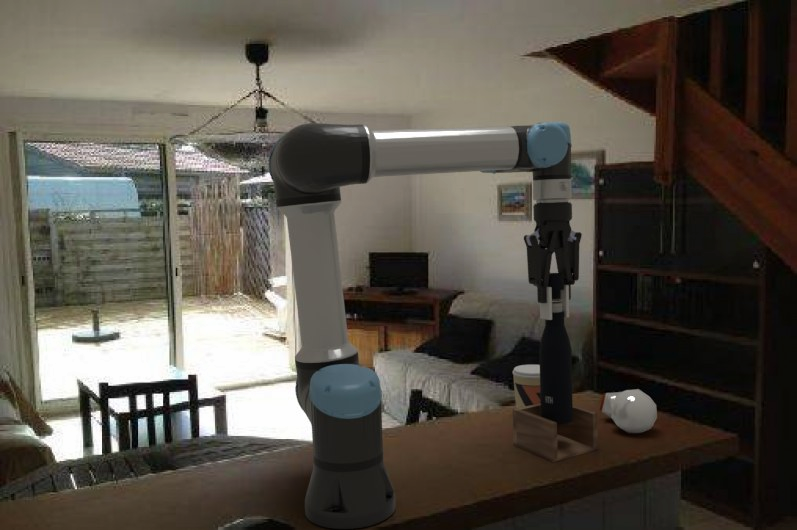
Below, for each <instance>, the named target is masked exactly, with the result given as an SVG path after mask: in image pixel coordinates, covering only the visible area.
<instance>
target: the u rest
mask: <svg viewBox="0 0 797 530" xmlns="http://www.w3.org/2000/svg"><path fill="white" fill-rule="evenodd" d="M598 425H599V424H598V412H595V411H593V410H589V409H587V408H583V407H580V406H577V405H573V421H572V422H570V423H567V424H557V423H556V422H554V421H551V420H548V419H545V418H543V417H541V403H539V404H534V405H530V406H525V407H521V408H516V407H515V408H513V409H512V439H513V440H512V443H513V446H515V447H518V448H520V449H522V450H524V451H527V452H529V453H532V454H534V455H535V456H538V457H541V458H542V459H545V460H546V461H549V462H552V463H554V462H559V461H562V460H565V459H570V458H574V457H576V456H579V455H584V454H586V453H591V452H593V451H594V452H595V451H597V450H598V451H599V442H598V441H599V440H598V439H599V438H598V435H599V433H598V432H599V431H598V429H599V427H598Z"/></svg>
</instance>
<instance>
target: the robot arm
mask: <svg viewBox="0 0 797 530" xmlns="http://www.w3.org/2000/svg"><path fill="white" fill-rule="evenodd" d="M571 137H572V136H571V127H570V125H569V124H568V123H567V122H563V121H552V122H549V121H548V122H538V123H535V124H529V125H514V126H513V125H511V126H510V125H503V126H502V125H500V126H499V125H498V126H474V127H473V126H472V127H471V126H469V127H441V128H409V129H383V130H379V129H375V130H371V129H370V128H369V127H367V126H366V125H365V124H339V123H323V122H321V123H319V122H315V123H314V122H308V123H304V124H300V125H297V126H295V127H293V128H292V129H290V130H289V131H287V132H286V133H285V134H284V135H282V136H281V137H279V139H278V140H277V141H276V142H275V144H274V145H273V146H272V149H271V151H270V153H269V158H268V172H269V175H270V179H271V180H272V182H273V187H274V195H275V202H276V203H275V204H276V210H278V211H279V212H280V213H282V214H283V215H284V216H285V218H286V222H287V223H286V226H287V232H288V241H289V249H290V256H291V263H292V264H291V265H292V274H293V283H294V291H295V300H296V306H297V307H296V308H297V316H298V317H297V318H298V325H299V332H300V341H301V347H300V349H299V351H298V352H297V353H296V355H294V362H295V370H296V380H295V387H294V388H295V396H296V400H297V402H298V405H299V406H300V408H301V410H302V411H303V413H304V414H305V415H306V417H307V419H308V420H309V422H310V425H311V435H312V436H311V437H312V455H313V459H312V460H313V469H312V471H311V474H310V475H311V476H310V480H309V483H308V485H307V490H306V494H305V497H304V510H305V511H304V514H305V516H306V518H307V520H308V521H309V522H311V523H313V524H315V525H317V526H319V527H323V528H328V529H336V530H354V529H360V528H361V529H362V528H366V527H370V526H373V525H377V524H380V523H381V522H383V521H385V520H387V519H388V518H389V517H391V516H392V515H393V514H394V512H395V510H396V493H395V490H394V487H393V484H392V482H391V479H390V476H389V474H388V471H387V468H386V465H385V463H384V462H385V461H384V445H383V443H384V441H383V440H384V439H383V418H382V417H383V415H382V414H383V413H382V410H383V409H382V397H383V391H382V388H381V381H380V377H379V375H378V374H377V373H376V371H374V370H373V369H372V368H369V367H367V366H360V358H359V349H358V348H357V347H356V346H355V345H354V344H352V343H351V342H350V341H349V335H348V327H347V326H348V325H347V316H346V308H345V307H346V306H345V297H344V289H343V280H342V273H341V272H342V271H341V262H340V253H339V245H338V237H337V235H338V234H337V225H336V218H335V212H336V210H337V209H338V207H339V206H340V205H341V204H342V197H341V187H346V186H351V185H352V186H353V185H363V184H366V185H367V184H368V183H369V182H370V181H371V180H372V179H373V178H380V177H397V176H398V177H400V176H414V175H415V176H416V175H433V174H448V173H449V174H451V173H453V174H454V173H467V172H468V173H469V172H480V173H484V174H485V173H486V174H489V173H490V174H493V175H495V174H505V173H508V174H510V173H511V174H512V173H532V200H533V201H535V203H534V204H533V207H532V208H533V220H534V222H535V227H534V230H533V232H532V233H530V234H525V235H524V236H523V241H524V244H525V247H526V259H527V260H526V261H527V274H528V275H527V277H528V278H527V280H528V283H529V285H533V286H534V287H536V289H537V290H536V291H537V302H538V303H539V319H541V320H545V319H546V320H552V302H553V301H552V287H547V286H548V283H549V275H550V273H551V267H552V260H553V259H552V257H553V254H554V256H555V262H556V268H557V273H563V274H564V290H561V300H559V301H556V302H562V305H563V306H562V308H563V310H562V311H563V312H564V318H570V301H571V298H572V287H571V285H572V286H573V285H575V284H576V281H578V280H579V279H580V243H581V240H582V236H583V235H582V233H581V232H578V231H574V230H573V229H572V226H571V223H570V221H571V220H572V219H573V204H572V203H571V202H569V200H571V199H572V198H573V197H572V195H573V194H572V193H573V192H572V146H573V145H572V138H571Z"/></svg>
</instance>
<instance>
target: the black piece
mask: <svg viewBox="0 0 797 530" xmlns="http://www.w3.org/2000/svg"><path fill="white" fill-rule="evenodd" d="M547 287H552V320H546V319H544V321H545V323H544V324H545V326H544V327H543V328H544V329H543V331H542V334H541V339H540V343H539V353H538V355H539V365H540V403H541V417H543V418H545V419H548V420H551V421H554V422H556V423H557V424H567V423H570V422H572V421H573V365H572V364H573V362H572V360H573V359H572V355H573V353H572V345H571V340H570V337H569V334H568V332H567V329H566V326H565V317H564V312H563V311H562V310H563V308H562V306H563V305H562V302H557V301H559V300H561V290H564V274H563V273H558V272H550V275H549V283H548V286H547Z"/></svg>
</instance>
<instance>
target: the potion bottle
mask: <svg viewBox="0 0 797 530" xmlns="http://www.w3.org/2000/svg"><path fill="white" fill-rule="evenodd" d="M599 411H600V412H602V413H603V414H605V415H607V416H608V418H611V419H612V421H613V422H614V423H615V425H616V426H617V427H618V428H620V429H621V430H623V432H626V433H627V434H641V433H644V432H646V431H649V430H651V429H652V427H653V426H654V424H655V422H656V420H657V419H658V411H657V404H656V403H655V402H654V400H653V399H652V398H651V397H650V396H649V395H648V394H646V393H645V392H643V391H642V390H641V389H639V388H637V389H626V390H623V391H618V392H606V393H603V394H602V398H601V402H600V406H599Z"/></svg>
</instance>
